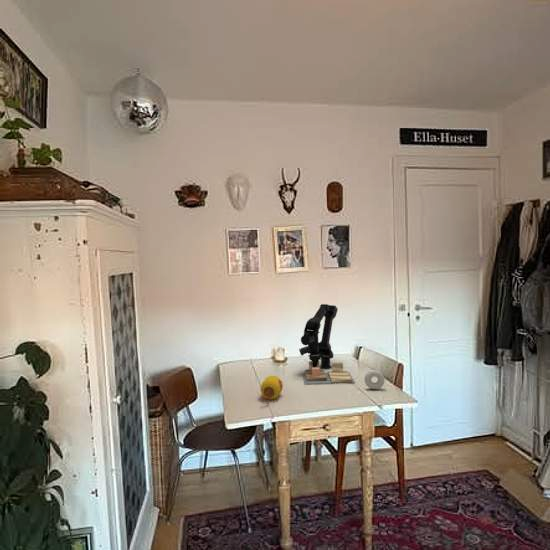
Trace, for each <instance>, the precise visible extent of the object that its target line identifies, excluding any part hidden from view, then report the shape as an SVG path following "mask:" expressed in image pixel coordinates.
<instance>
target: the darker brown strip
mask: <svg viewBox="0 0 550 550" xmlns="http://www.w3.org/2000/svg"><path fill="white" fill-rule="evenodd" d="M320 365H321V364H320V360H319V361H318V364H317V366H316V367H319V369H320V376H312V367H313V364H312V361H311V360H309V361H308V369H304V373H305V375H306V379H307V381H316V380H327V377H326V374H325V373H326V372H325V368H321V367H320Z"/></svg>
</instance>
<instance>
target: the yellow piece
mask: <svg viewBox="0 0 550 550" xmlns="http://www.w3.org/2000/svg"><path fill="white" fill-rule="evenodd" d="M283 387H284V385H283V381H282V380H281V378H280V377H279V376H276V375H269V376H267V377H265V379H264V380H263V382H262V383H261V385H260V392H261V395H262V399H267V400H275V399H277V398H278V397H279V396H280V394H281V392H282V391H283Z"/></svg>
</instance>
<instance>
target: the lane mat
mask: <svg viewBox="0 0 550 550" xmlns="http://www.w3.org/2000/svg"><path fill="white" fill-rule="evenodd" d="M347 372H348V373H349V375H350V377H351V379H352V382H331V380H330V377H329V375H328V372H325V374H326V377H327V380H316V381H307V379H306V375H305V372H304V373H302V377H303V383H304V384H303V385H306V386H307V385H313V384H314V385H337V383H348V384H356V382H355V380H354V378H353V376H352V375H351V373H350V372H349V371H347ZM335 383H336V384H335ZM314 385H313V386H314Z"/></svg>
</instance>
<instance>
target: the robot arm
mask: <svg viewBox="0 0 550 550" xmlns="http://www.w3.org/2000/svg"><path fill="white" fill-rule="evenodd" d="M337 314H338V307H337V306H336V305H333V304H332V305H331V304H327V303H322V304H320V306H319V308H318V310H317V311H316V312H315V314H314V316H313V317H311V318H309V319H308V320H307V322H306V323H305V326H304V330H303V335H302V336H301V337H300V343H301V344H302V345H303V347H301V348H299V349H298V350H299V353H300V356H304V355H306V354H308V358H309V361H312V364H313V367H316V366H317V364H318V361H319V362H320V364H319V365H320V369H332V364H331V359H333V358H334V352H333V351H332V345H331V343H330V339H331V338H330V337H331V333H332V328H333V327H332V326H333V320H334V319H335V318H336V317H337ZM323 319H324V323H323V329H322V334H321V335H322V336H321V340H320V342H319V334H320V328H321V322H322V320H323Z"/></svg>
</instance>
